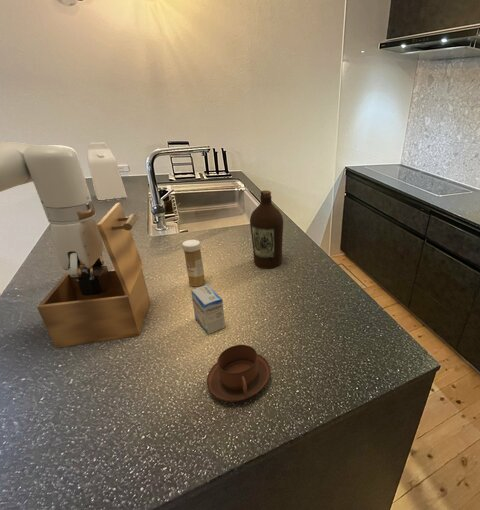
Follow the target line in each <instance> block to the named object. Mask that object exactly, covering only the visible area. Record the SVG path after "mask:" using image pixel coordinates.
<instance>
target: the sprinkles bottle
mask: <svg viewBox="0 0 480 510" xmlns="http://www.w3.org/2000/svg"><path fill="white" fill-rule="evenodd" d="M181 246H182V250H183V253H184V258H185V265H186V273H187V279H188V284H189V286H191V287H201V286H204V284H205V283H206V279H205V271H204V263H203V257H202V252H201V247H202V246H201V241H200V240H198V239H188V240H185V241H183V242H182V244H181Z"/></svg>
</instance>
